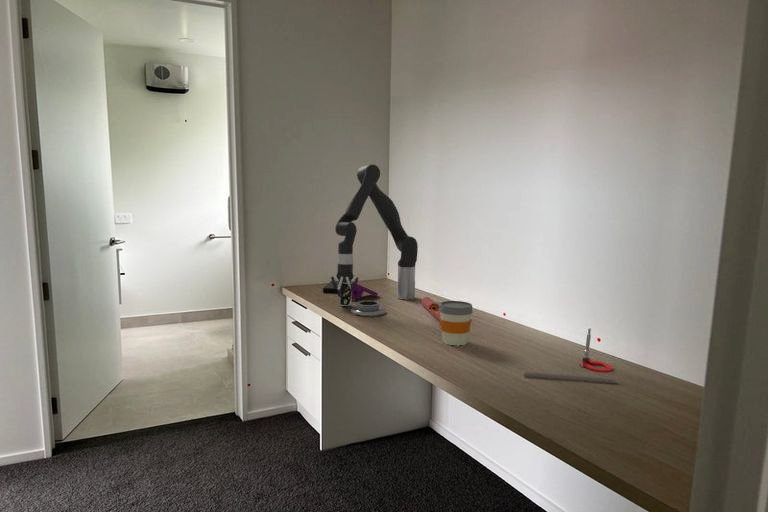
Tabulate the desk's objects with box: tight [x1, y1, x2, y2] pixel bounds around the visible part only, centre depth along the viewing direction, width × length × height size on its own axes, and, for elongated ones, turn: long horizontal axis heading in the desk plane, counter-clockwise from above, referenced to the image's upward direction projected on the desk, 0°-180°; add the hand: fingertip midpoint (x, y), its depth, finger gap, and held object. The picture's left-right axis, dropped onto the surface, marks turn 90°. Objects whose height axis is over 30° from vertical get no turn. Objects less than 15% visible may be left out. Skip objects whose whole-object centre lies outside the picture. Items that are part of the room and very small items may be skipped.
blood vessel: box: [421, 296, 441, 322], centre depth 239 cm, size 42×5×5 cm, turn 10°
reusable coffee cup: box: [439, 300, 474, 347], centre depth 198 cm, size 13×13×15 cm
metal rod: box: [523, 370, 617, 384], centre depth 162 cm, size 2×27×2 cm, turn 81°
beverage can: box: [339, 282, 353, 307], centre depth 255 cm, size 6×6×12 cm
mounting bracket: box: [350, 280, 379, 300], centre depth 277 cm, size 10×8×18 cm
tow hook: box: [579, 328, 613, 373], centre depth 173 cm, size 8×13×9 cm
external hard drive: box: [322, 280, 355, 294], centre depth 298 cm, size 14×23×3 cm, turn 175°
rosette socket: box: [350, 300, 386, 317], centre depth 243 cm, size 16×16×4 cm
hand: (344, 296), depth 255 cm, fingers closed on beverage can, 4 cm apart
